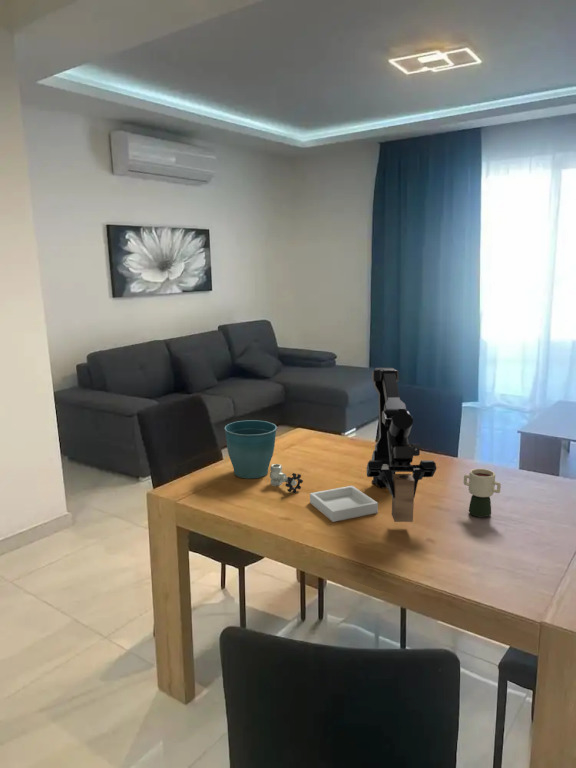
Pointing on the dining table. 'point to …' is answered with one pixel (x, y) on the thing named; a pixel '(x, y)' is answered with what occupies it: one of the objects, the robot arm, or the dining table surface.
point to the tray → (343, 503)
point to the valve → (284, 478)
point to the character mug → (481, 491)
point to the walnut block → (403, 498)
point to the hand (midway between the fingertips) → (403, 497)
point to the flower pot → (250, 447)
